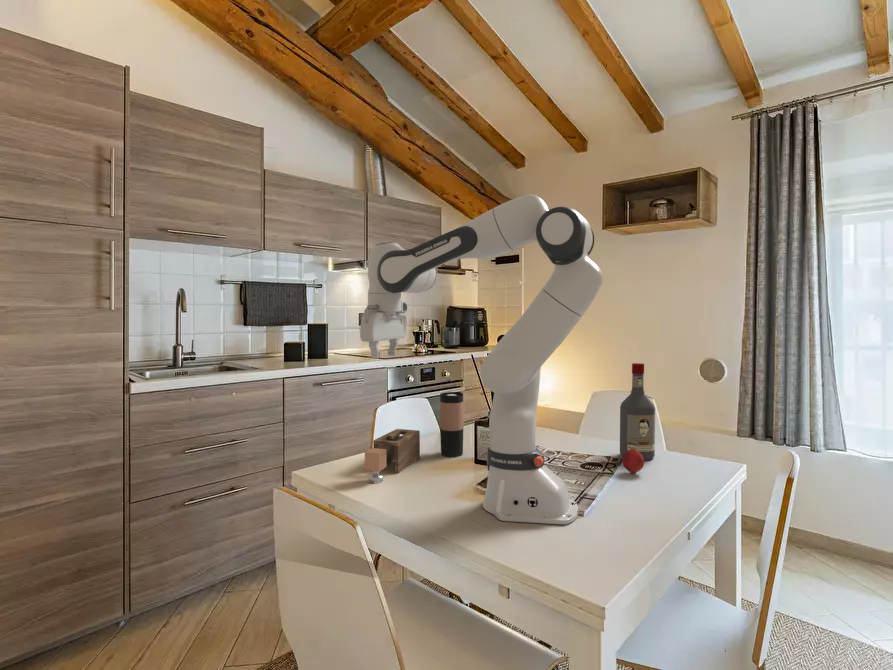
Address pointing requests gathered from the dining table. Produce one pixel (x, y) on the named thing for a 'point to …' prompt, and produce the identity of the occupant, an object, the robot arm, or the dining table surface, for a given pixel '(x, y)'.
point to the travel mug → (451, 424)
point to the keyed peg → (375, 463)
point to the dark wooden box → (400, 447)
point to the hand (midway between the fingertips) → (383, 357)
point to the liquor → (637, 418)
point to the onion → (633, 460)
